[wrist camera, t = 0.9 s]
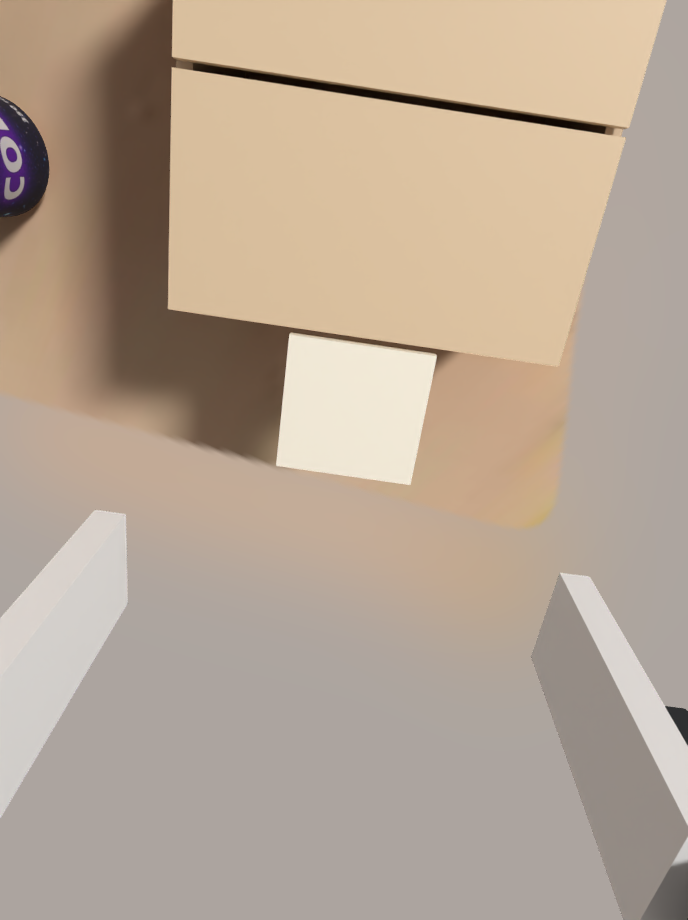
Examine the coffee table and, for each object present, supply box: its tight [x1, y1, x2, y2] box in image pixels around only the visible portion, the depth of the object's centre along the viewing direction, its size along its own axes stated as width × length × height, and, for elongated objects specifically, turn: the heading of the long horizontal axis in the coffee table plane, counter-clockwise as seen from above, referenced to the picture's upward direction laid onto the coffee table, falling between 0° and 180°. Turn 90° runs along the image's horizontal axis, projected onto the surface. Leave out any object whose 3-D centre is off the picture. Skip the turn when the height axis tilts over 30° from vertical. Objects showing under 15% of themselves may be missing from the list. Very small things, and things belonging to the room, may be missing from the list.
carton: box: [176, 60, 623, 137], centre depth 26 cm, size 16×16×10 cm
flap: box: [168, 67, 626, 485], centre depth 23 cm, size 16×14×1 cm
